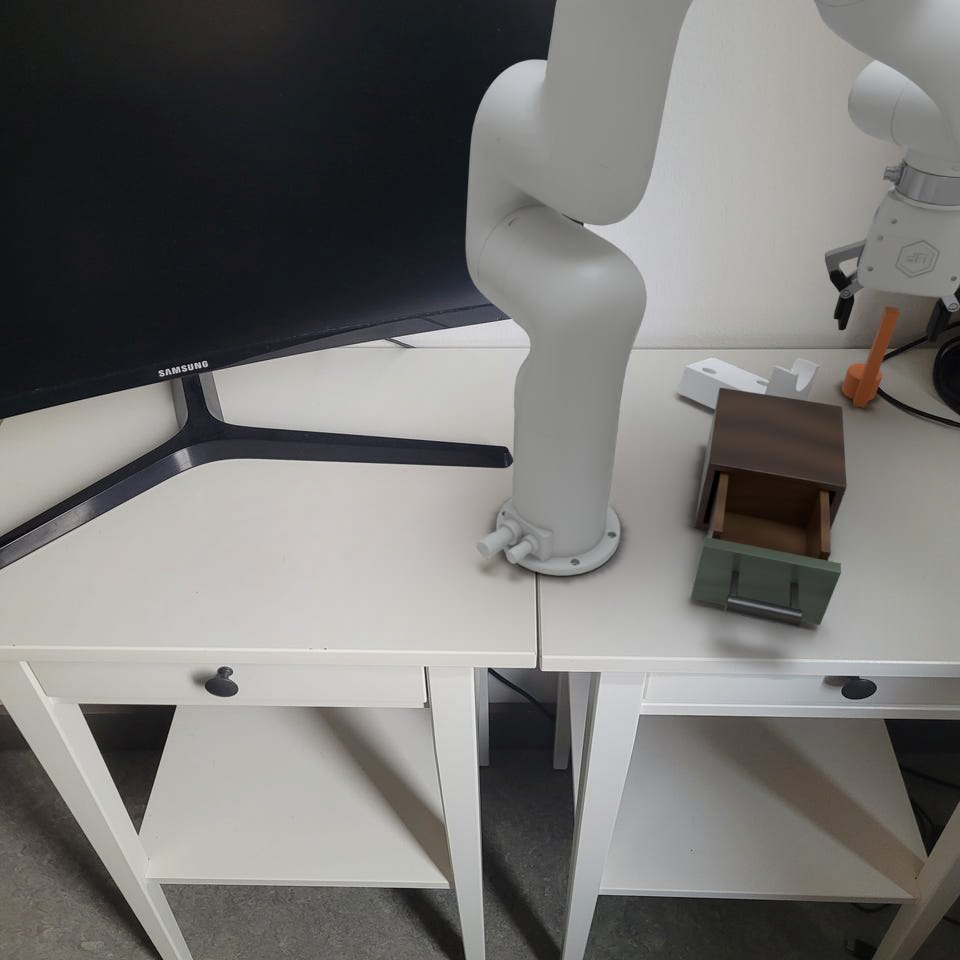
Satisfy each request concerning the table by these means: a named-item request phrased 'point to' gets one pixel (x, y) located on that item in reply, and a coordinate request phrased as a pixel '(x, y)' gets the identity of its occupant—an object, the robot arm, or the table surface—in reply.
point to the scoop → (870, 363)
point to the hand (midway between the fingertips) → (885, 330)
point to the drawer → (768, 551)
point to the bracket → (745, 380)
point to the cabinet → (774, 445)
